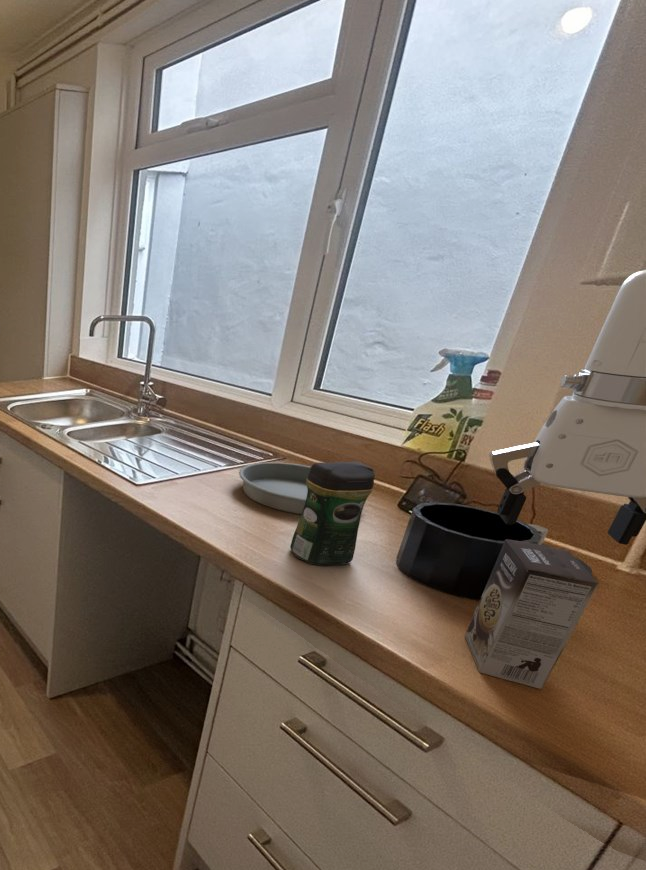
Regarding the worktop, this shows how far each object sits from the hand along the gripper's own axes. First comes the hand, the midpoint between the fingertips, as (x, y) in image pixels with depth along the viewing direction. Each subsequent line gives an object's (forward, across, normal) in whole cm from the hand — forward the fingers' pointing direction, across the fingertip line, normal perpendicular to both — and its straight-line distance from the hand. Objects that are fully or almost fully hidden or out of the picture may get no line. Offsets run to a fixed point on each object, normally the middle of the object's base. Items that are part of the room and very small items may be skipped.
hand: (559, 529), depth 64 cm
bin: (+20, -1, +25) cm, 32 cm away
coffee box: (+20, 0, 0) cm, 20 cm away
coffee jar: (+20, -21, +21) cm, 36 cm away
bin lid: (+19, +11, +38) cm, 44 cm away
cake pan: (+20, -26, +51) cm, 61 cm away
